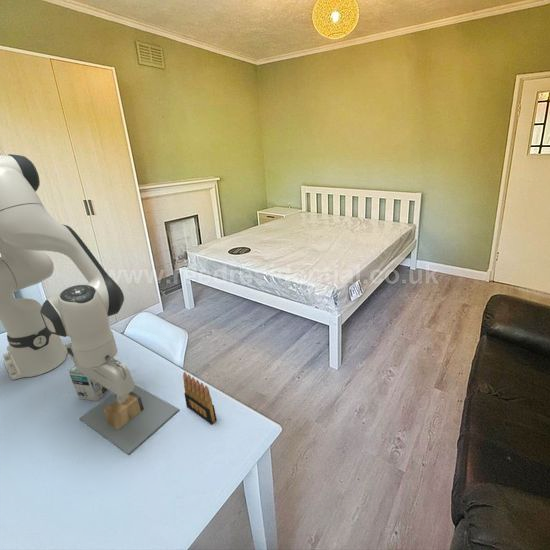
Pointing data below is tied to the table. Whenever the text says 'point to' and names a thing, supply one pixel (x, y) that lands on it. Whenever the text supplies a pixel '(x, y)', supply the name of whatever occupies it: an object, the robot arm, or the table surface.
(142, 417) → the slate mat
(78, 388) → the light bulb box
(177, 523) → the table surface
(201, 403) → the ammunition clip
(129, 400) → the oak block
